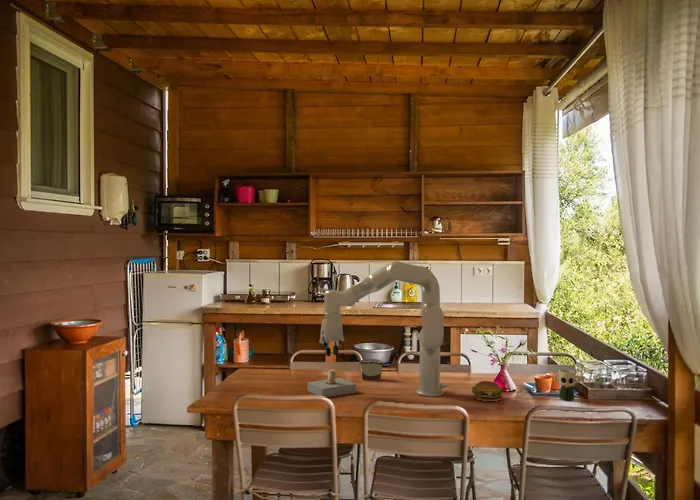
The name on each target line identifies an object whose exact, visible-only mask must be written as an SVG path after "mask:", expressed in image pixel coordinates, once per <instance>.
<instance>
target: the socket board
mask: <svg viewBox="0 0 700 500" xmlns="http://www.w3.org/2000/svg"><path fill="white" fill-rule="evenodd" d="M356 387H357V386H356V383H354V382H352V381H348V380H346V379H344V378H341V377H336V384H333V385H329V384H328V379H324V380H323V379H322V380H316V381H308V382H307V392H309V393H312V394H313V395H315V394H316V396H318V395H322V396H326V397H325V398H328V397H329V398H330V397H336V395H337V396H341V395H342V394H343V395H347V394H349V395H350V394H353V393H354V394H355V393H356V389H357V388H356ZM343 395H342V396H343Z"/></svg>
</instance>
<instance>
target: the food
mask: <svg viewBox="0 0 700 500" xmlns="http://www.w3.org/2000/svg"><path fill="white" fill-rule="evenodd" d="M471 389H472V391H471V393H472V394H473V395H474V399H475V398H476V399H475V400H477V399H478V400H477V401H479V400H482V401H481V402H483V401H497V402H499V401H498V400H500V401H501V399H502V398H503V394H502V393H504V392H505V388H501V386H500V384H499V383H497V382H494V381H491V380H483V381H479V382H477V383H476V384H475V385H474V386H473V387H471Z"/></svg>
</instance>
